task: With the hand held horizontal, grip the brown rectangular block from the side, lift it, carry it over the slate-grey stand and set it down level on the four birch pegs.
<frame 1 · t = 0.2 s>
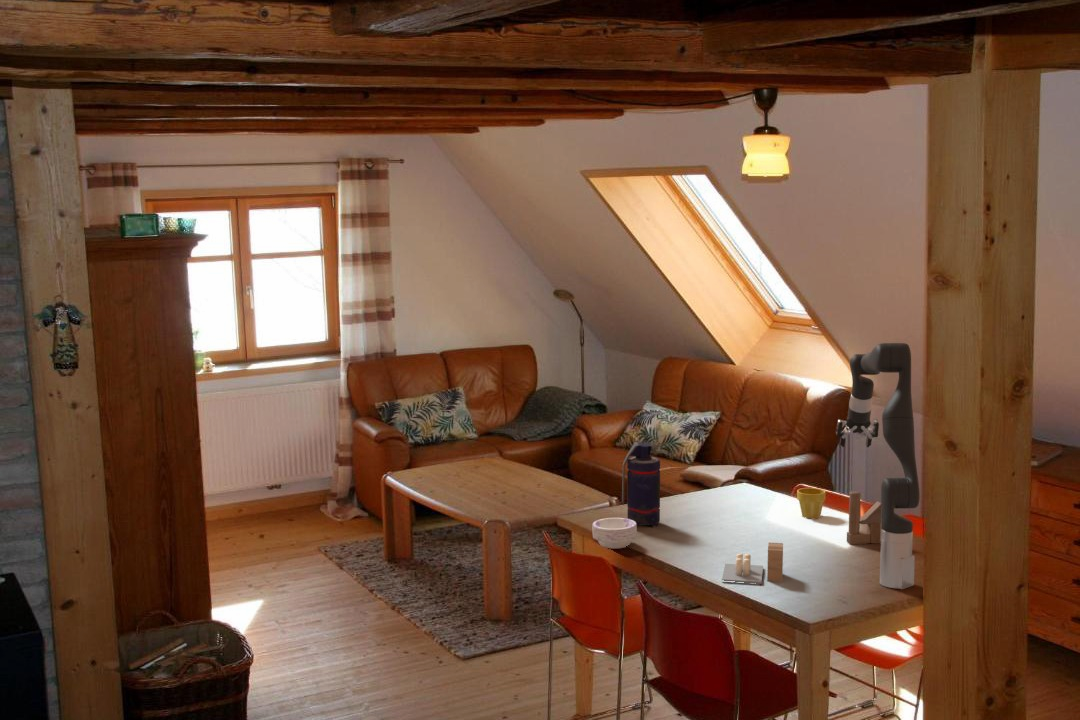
hand: (855, 446, 407), 31 cm above the table, tool tilted 20°, fingers open, 8 cm apart
peg stand: (742, 575, 365), on the table
plant pot: (810, 516, 432), on the table
white bowl: (614, 545, 399), on the table
grenade: (640, 524, 425), on the table
brown rectangular block: (775, 577, 363), on the table
wooden block: (863, 543, 399), on the table
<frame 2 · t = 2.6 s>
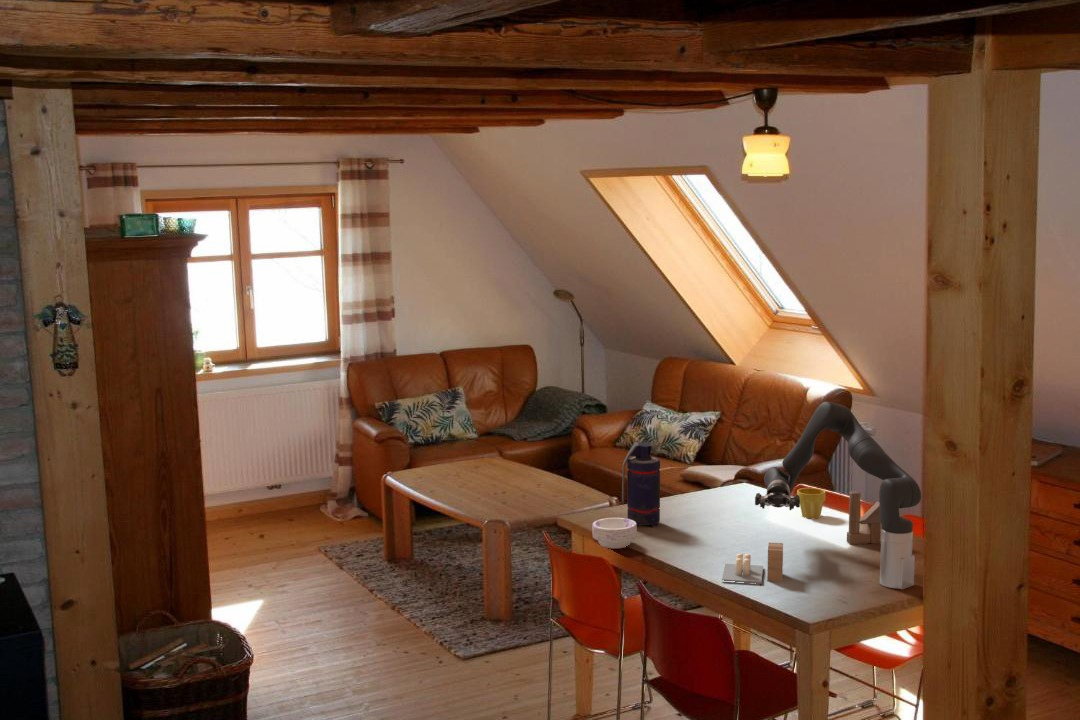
hand: (776, 506, 371), 20 cm above the table, tool horizontal, fingers open, 8 cm apart
nothing on the table moved.
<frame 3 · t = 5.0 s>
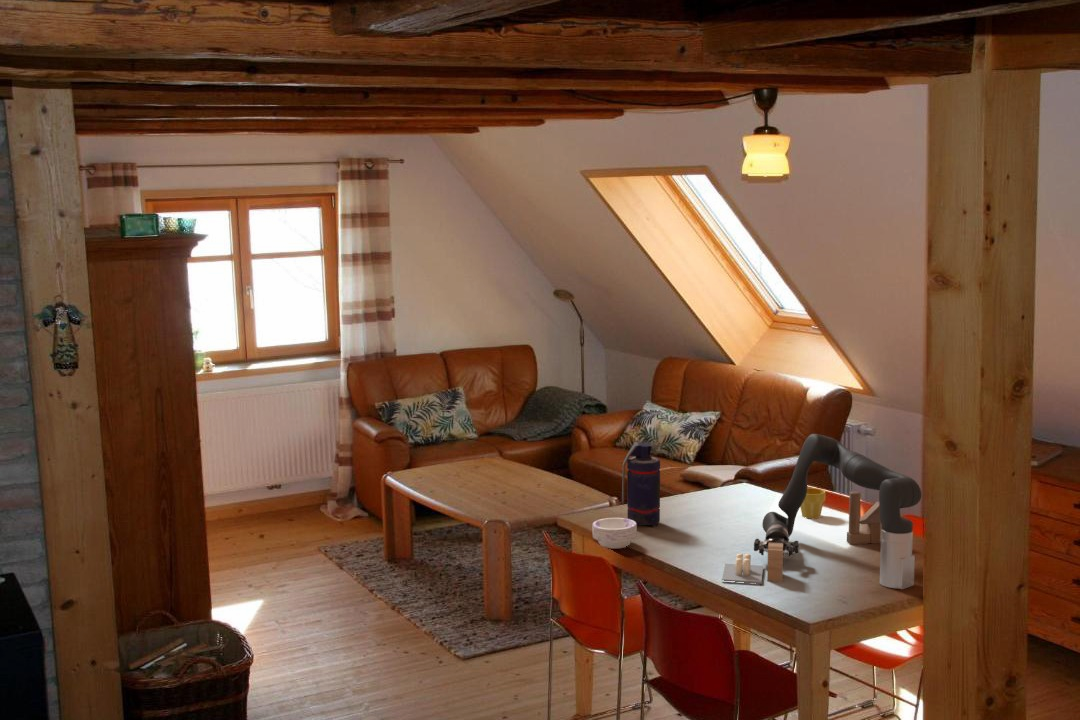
hand: (775, 552, 369), 6 cm above the table, tool horizontal, fingers open, 8 cm apart
nothing on the table moved.
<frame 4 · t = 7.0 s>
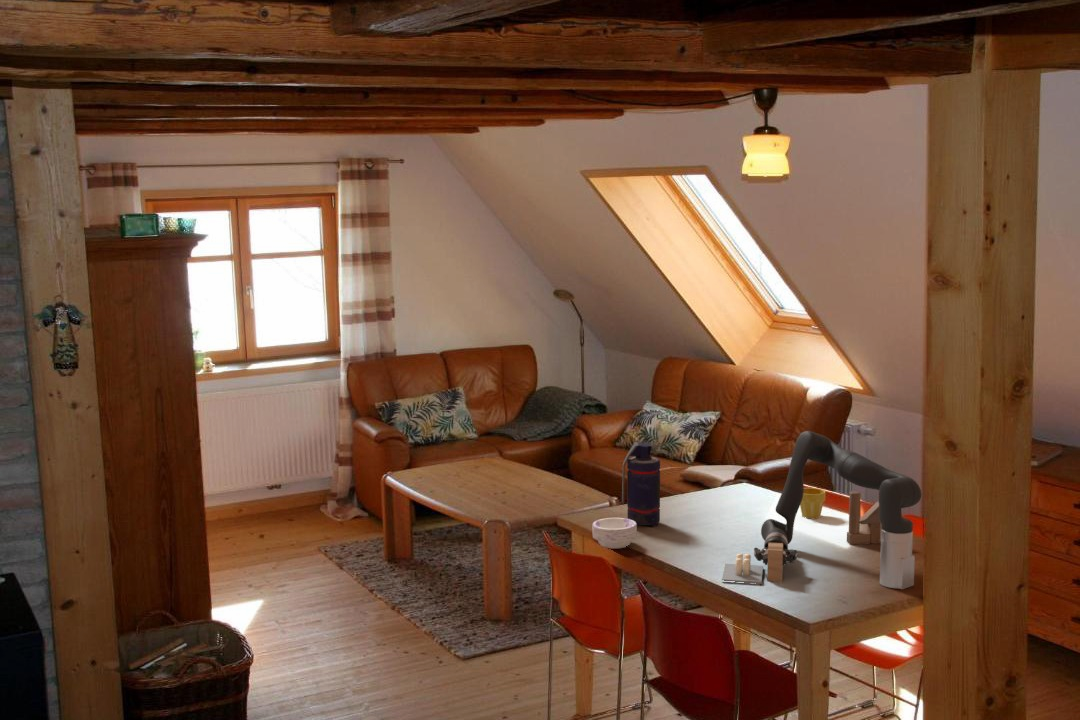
hand: (774, 562, 359), 6 cm above the table, tool horizontal, fingers closed on brown rectangular block, 4 cm apart
brown rectangular block: (774, 577, 363), on the table, touching gripper
everything else where it was.
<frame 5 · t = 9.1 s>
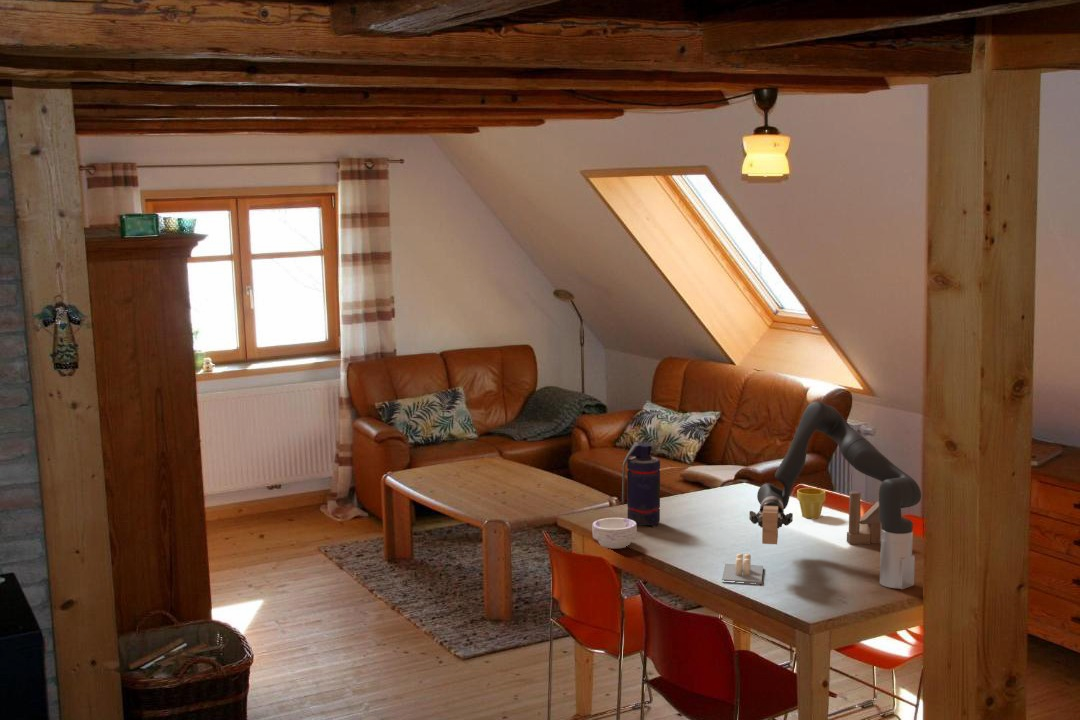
hand: (769, 524, 358), 18 cm above the table, tool horizontal, fingers closed on brown rectangular block, 4 cm apart
brown rectangular block: (770, 540, 362), point 12 cm above the table, touching gripper
everything else where it was.
when the fingers open (13 cm above the table, at t = 11.2 s): brown rectangular block stays where it is, resting on peg stand.
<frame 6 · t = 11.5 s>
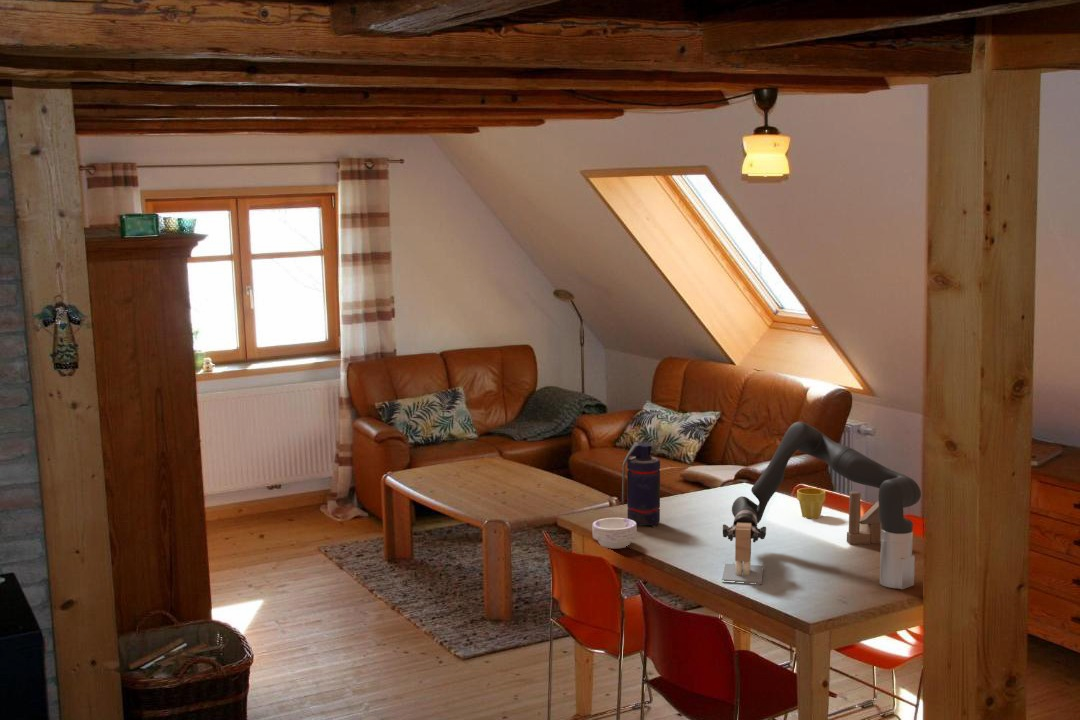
hand: (742, 538, 360), 13 cm above the table, tool horizontal, fingers open, 6 cm apart
brown rectangular block: (743, 557, 364), point 6 cm above the table, touching peg stand
everything else where it was.
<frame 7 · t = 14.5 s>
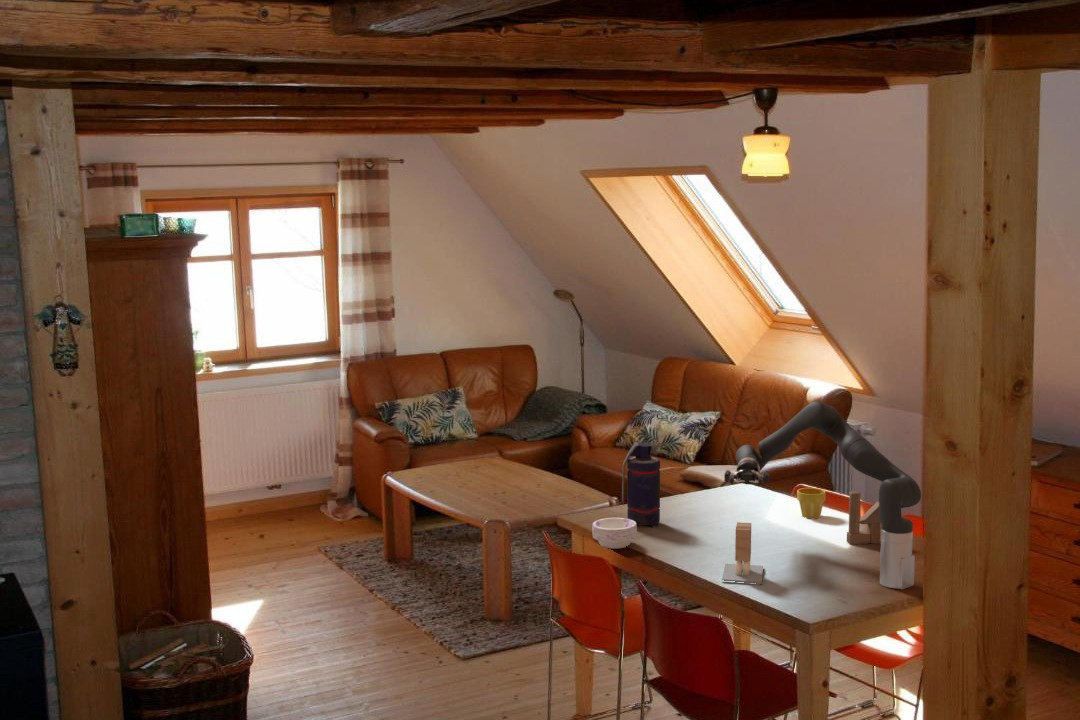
hand: (745, 482, 371), 28 cm above the table, tool horizontal, fingers open, 8 cm apart
nothing on the table moved.
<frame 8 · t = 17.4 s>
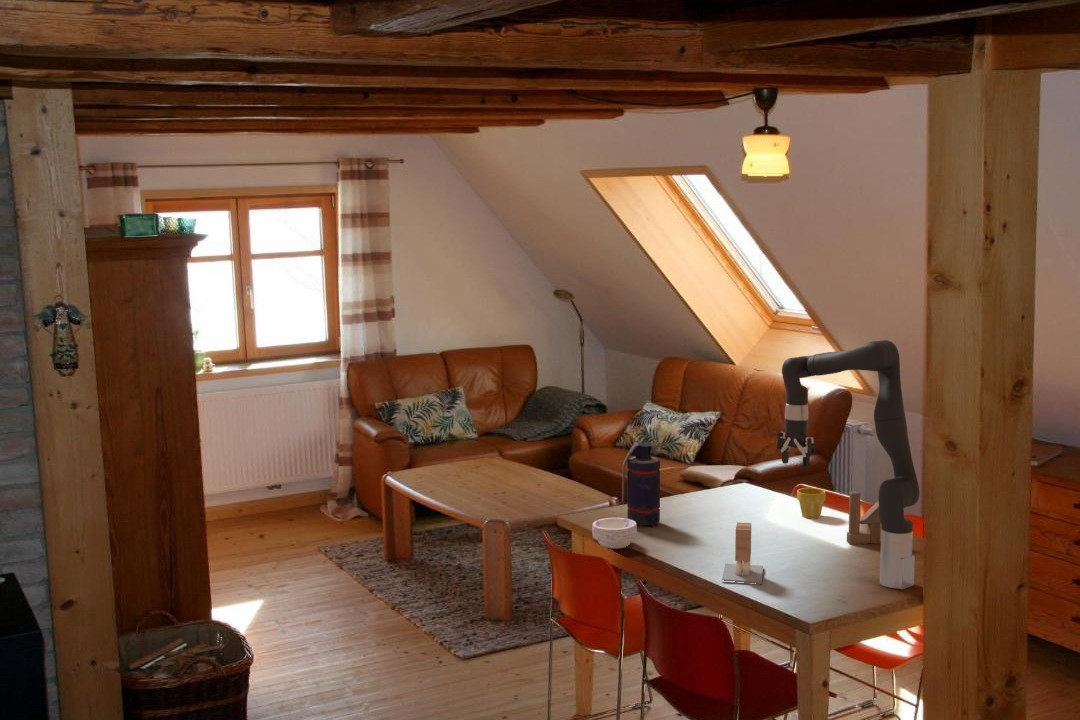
hand: (795, 465, 383), 30 cm above the table, tool pointing down, fingers open, 8 cm apart
nothing on the table moved.
at the end: brown rectangular block 0.0 cm off-centre on the peg stand, point 6.0 cm above the peg stand's base; brown rectangular block tilted 0°; the gripper is holding nothing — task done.
